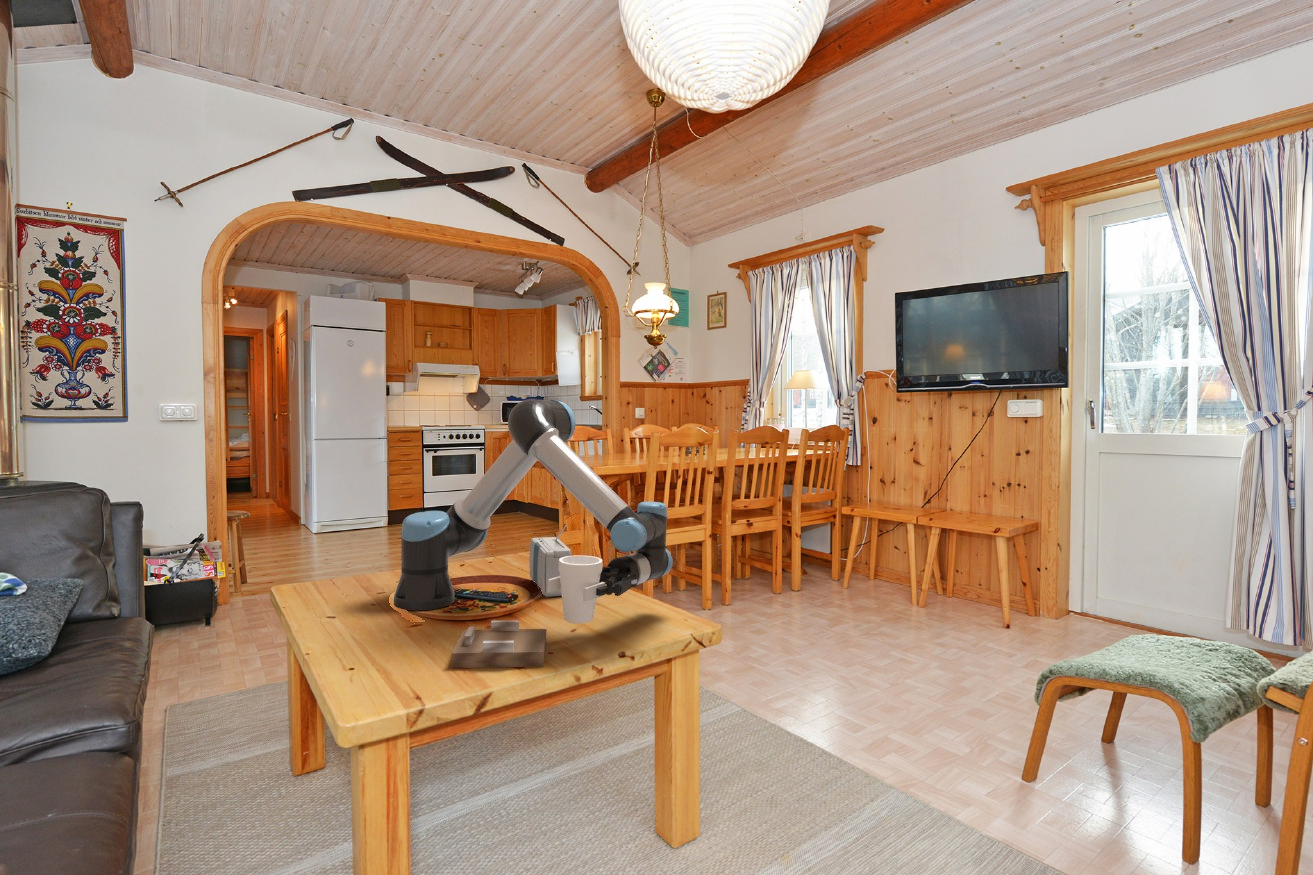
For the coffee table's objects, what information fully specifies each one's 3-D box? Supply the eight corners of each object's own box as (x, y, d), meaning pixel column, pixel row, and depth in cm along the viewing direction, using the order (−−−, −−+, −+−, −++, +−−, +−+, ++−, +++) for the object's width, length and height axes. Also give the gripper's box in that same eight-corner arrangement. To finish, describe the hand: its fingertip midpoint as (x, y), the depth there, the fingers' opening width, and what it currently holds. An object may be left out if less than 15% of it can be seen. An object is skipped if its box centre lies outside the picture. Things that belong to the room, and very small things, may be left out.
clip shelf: (451, 668, 136) (451, 643, 135) (463, 643, 150) (463, 620, 150) (543, 666, 138) (543, 642, 138) (546, 642, 152) (546, 620, 152)
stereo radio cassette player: (528, 580, 206) (529, 514, 205) (555, 579, 208) (556, 513, 208) (541, 599, 186) (543, 526, 185) (571, 597, 189) (572, 525, 188)
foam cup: (608, 619, 150) (611, 561, 149) (577, 628, 143) (579, 567, 142) (579, 609, 156) (582, 553, 155) (548, 617, 149) (550, 559, 148)
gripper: (665, 595, 158) (606, 618, 139) (591, 578, 170) (527, 597, 151) (667, 563, 158) (608, 582, 139) (592, 548, 170) (529, 564, 151)
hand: (566, 590), depth 145 cm, fingers closed on foam cup, 9 cm apart
